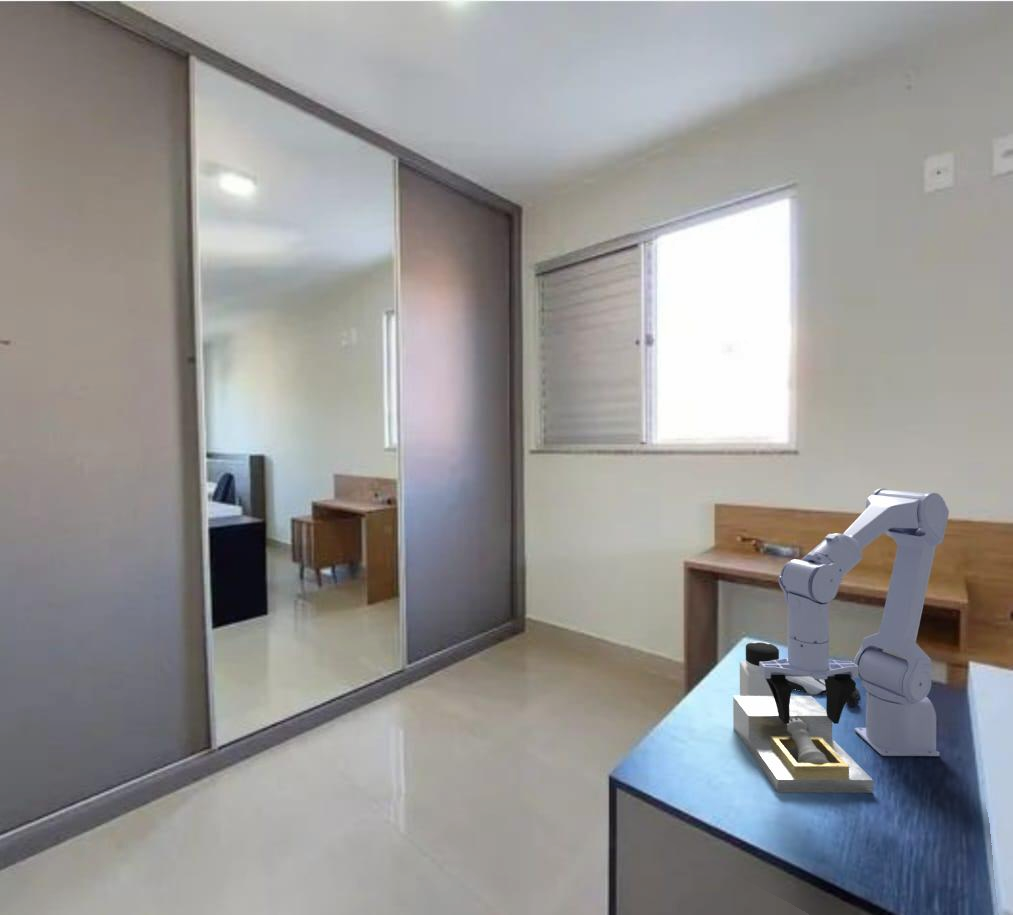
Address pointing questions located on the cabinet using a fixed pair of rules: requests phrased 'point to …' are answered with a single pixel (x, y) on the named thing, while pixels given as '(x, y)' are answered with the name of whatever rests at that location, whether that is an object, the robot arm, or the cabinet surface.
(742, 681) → the medicine bottle
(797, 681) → the computer mouse
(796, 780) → the white stepped block
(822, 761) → the rook chess piece
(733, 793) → the cabinet surface
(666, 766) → the cabinet surface
